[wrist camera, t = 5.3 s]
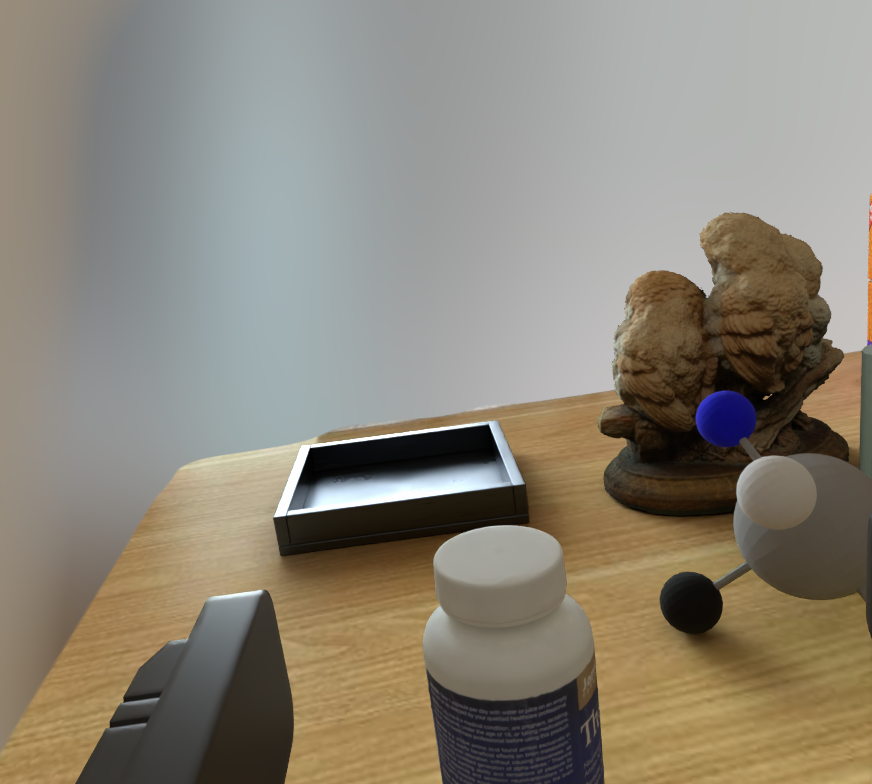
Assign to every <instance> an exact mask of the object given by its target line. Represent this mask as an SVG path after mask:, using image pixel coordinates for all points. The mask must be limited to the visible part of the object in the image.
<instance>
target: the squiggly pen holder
mask: <svg viewBox="0 0 872 784" xmlns="http://www.w3.org/2000/svg"><path fill="white" fill-rule="evenodd" d="M859 469H860V470H861V471H863V472H864V473H865V474H866V475H868V476H869V477H870V478H871V479H872V344H870V345H868V346H866V347H865V348H864V349H863V350H862V376H861V418H860V461H859Z"/></svg>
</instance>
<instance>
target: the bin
mask: <svg viewBox="0 0 872 784" xmlns="http://www.w3.org/2000/svg"><path fill="white" fill-rule="evenodd" d="M273 520H274V525H275V530H276V535H277V540H278V545H279V551H280V555H289V554H296V553H304V552H311V551H319V550H326V549H334V548H341V547H349V546H356V545H364V544H371V543H379V542H386V541H394V540H401V539H408V538H416V537H423V536H431V535H438V534H446V533H453V532H461V531H468V530H474V529H479V528H483V527H489V526H503V525H513V524H521V523H528V522H529V514H528V503H527V493H526V484H525V482H524V479H523V477H522V475H521V473H520V470H519V468H518V466H517V463H516V461H515V459H514V456H513V454H512V452H511V449H510V447H509V445H508V442H507V440H506V438H505V435H504V433H503V431H502V429H501V426H500V424H499V422H498V420H496V421H489V422H482V423H474V424H466V425H459V426H451V427H444V428H436V429H429V430H421V431H413V432H406V433H398V434H391V435H383V436H375V437H368V438H360V439H353V440H345V441H338V442H330V443H322V444H315V445H307V446H301V448H300V451H299V453H298V456H297V458H296V461H295V464H294V466H293V469H292V471H291V474H290V476H289V479H288V482H287V484H286V487H285V489H284V492H283V494H282V497H281V499H280V502H279V505H278V507H277V510H276V512H275V515H274V518H273Z"/></svg>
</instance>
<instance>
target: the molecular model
mask: <svg viewBox="0 0 872 784" xmlns="http://www.w3.org/2000/svg"><path fill="white" fill-rule="evenodd" d="M696 424H697V428H698V430H699V432H700V434H701V435H702V437H703V438H704V439H706V440H707V441H708V442H710V443H711V444H713V445H716V446H720V447H733V446H737V445H739V444H741V445H742V447H743V448H744V449H745V451H746V452H747V453H748V454H749V456H750V457H751V458H752V459H753V462H752V463H751V464H749V465H748V466H747V467H746V468H745V469H744V470H743V472H742V473H741V475H740V477H739V480H738V483H737V491H736V495H737V502H736V506H735V511H734V521H733V524H734V533H735V538H736V542H737V544H738V547H739V549H740V551H741V554H742V556H743V557H744V559H745V560H746V562H745V563H743V564H742V565H740V566H738V567H737V568H735V569H734V570H732V571H731V572H729V573H728V574H726V575H724V576H723V577H721V578H720V579H718V580H717V581H715V582H714V583H713V582H712V581H711V580H710V579H709V578H707V577H705V576H704V575H702V574H698V573H695V572H682V573H679V574H676V575H674V576H672V577H671V578H670V579H669V580H668V581H667V582H666V583H665V585H664V587H663V588H662V590H661V594H660V606H661V610H662V613H663V615H664V617H665V618H666V620H667V621H668V622H669V623H670V624H671V625H672V626H673V627H675V628H676V629H678V630H679V631H682V632H685V633H690V634H697V633H702V632H705V631H707V630H709V629H711V628H712V627H713V626H714V625H715V624H716V623H717V622H718V620H719V619H720V617H721V614H722V608H723V601H722V596H721V594H720V592H719V589H721V588H723V587H724V586H726V585H727V584H729V583H730V582H732V581H734V580H735V579H737V578H738V577H740V576H741V575H743V574H745V573H746V572H748V571H749V570H751V569H752V570H753V571H754V572H755V573H756V574H757V575H758V576H759V577H760V578H761V579H763V580H764V581H765V582H767V583H768V584H769V585H771V586H772V587H774V588H776V589H778V590H779V591H782V592H784V593H786V594H789V595H792V596H795V597H799V598H804V599H811V600H828V599H836V598H841V597H845V596H847V595H850V594H853V593H855V592H857V591H858V593H859V594H860V595H861V596H862V598H863V599H864V600H865V601H866V586H867V530H868V521H869V517H870V515H871V513H872V479H871V478H870V477H869V476H868V475H866V474H865V473H864V472H863V471H861V470H860V469H858V468H856V467H855V466H853V465H852V464H850V463H847V462H845V461H843V460H841V459H838V458H835V457H832V456H827V455H822V454H813V453H804V454H794V455H789V456H785V457H784V456H774V455H773V456H766V457H761V456H760V455H759V453H758V452H757V451H756V450H755V448H754V447H753V446H752V445H751V443H750V442H749V441H748V440H747V439H748V438H749V437H750V436H751V434H752V433H753V431H754V428H755V426H756V413H755V409H754V407H753V405H752V404H751V402H750V401H749V400H748V399H747V398H746V397H744V396H743V395H741V394H739V393H737V392H733V391H719V392H715V393H713V394H711V395H709V396H707V397H706V398H705V399H704V400H703V401H702V402H701V403H700V405H699V407H698V409H697V413H696Z"/></svg>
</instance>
